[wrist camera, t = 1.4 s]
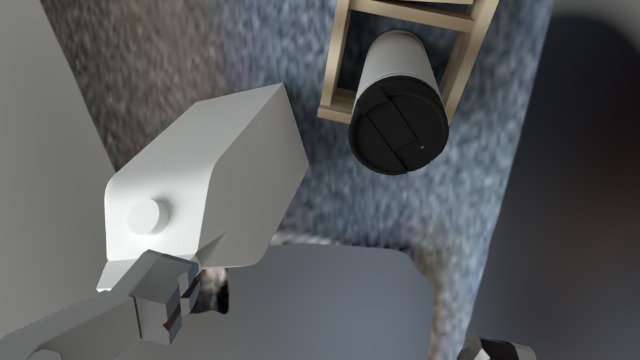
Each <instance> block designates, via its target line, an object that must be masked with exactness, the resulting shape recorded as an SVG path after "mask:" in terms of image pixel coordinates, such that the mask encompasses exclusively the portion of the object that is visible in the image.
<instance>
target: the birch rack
mask: <svg viewBox="0 0 640 360" xmlns="http://www.w3.org/2000/svg"><path fill="white" fill-rule="evenodd" d="M498 2H499V0H473V4H468V7H467V9H466V12H465V13H463V12H458V11H453V10H448V9H442V8H437V7H432V6H427V5H422V4H417V3H412V2H407V1H402V0H337V6H336V12H335V18H334V24H333V30H332V36H331V42H330V48H329V54H328V60H327V66H326V72H325V78H324V84H323V90H322V96H321V102H320V105H319V107H318V113H317V117H320V118H324V119H329V120H334V121H338V122H343V123H347V124H350V122H351V118H352V111H353V107H354V103H355V99H356V95H357V92H356V91H351V90H347V89H342V88H337V86H338V81H339V76H340V71H341V65H342V60H343V55H344V50H345V44H346V39H347V34H348V29H349V23H350V18H351V13H352V10H357V11H362V12H367V13H372V14H377V15H382V16H387V17H392V18H397V19H402V20H407V21H412V22H417V23H422V24H427V25H432V26H437V27H442V28H447V29H452V30H457V31H459V32H458V35H457V37H456V40H455V43H454V46H453V49H452V52H451V54H450V57H449V60H448V63H447V66H446V68H445V71H444V74H443V77H442V80H441V83H440V85H439V88H438V89H439V92H440V95H441V98H442V101H443V105H444V110H445V113H446V116H447V119H448V125H450V123H451V120H452V118H453V115H454V113H455V110H456V108H457V105H458V103H459V100H460V98H461V95H462V93H463V90H464V88H465V85H466V83H467V80H468V78H469V75H470V72H471V70H472V67H473V65H474V62H475V60H476V57H477V55H478V52H479V50H480V47H481V45H482V42H483V40H484V37H485V35H486V32H487V30H488V27H489V25H490V22H491V20H492V17H493V15H494V12H495V10H496V7H497V5H498Z"/></svg>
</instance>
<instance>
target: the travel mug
mask: <svg viewBox="0 0 640 360" xmlns="http://www.w3.org/2000/svg"><path fill="white" fill-rule="evenodd" d="M448 136H449V125H448V119H447V116H446V113H445V110H444V105H443V101H442V98H441V95H440V92H439V89H438V86H437V83H436V80H435V77H434V74H433V71H432V68H431V65H430V62H429V59H428V56H427V53H426V50H425V47H424V45H423V43H422V41H421V40H420V39H419V37H418V36H416V35H415V34H414V33H412V32H410V31H408V30H405V29H391V30H388V31H385V32H384V33H382V34H380V35H379V36H378V37H377V38H376V39H375V40H374V41H373V42H372V43H371V45H370V47H369V49H368V53H367V56H366V60H365V64H364V68H363V72H362V76H361V80H360V84H359V88H358V91H357V95H356V99H355V103H354V107H353V111H352V118H351V122H350V127H349V135H348V137H349V145H350V147H351V150H352V152H353V154H354V155H355V157H356V158H357V159H358V160H359V161H360V162H361V163H362V164H363V165H364V166H366V167H367V168H369V169H370V170H373V171H375V172H377V173H381V174H385V175H400V174H406V173H407V172H409V171H415V170H417V169H420V168H422V167H424V166H425V165H427V164H429V163H430V161H431V160H432V161H433V160H434V159H435V158H436V157H437V156H438V155H439V154H440V153H441V152H442V151H443V149H444V147H445V145H446V143H447V139H448Z"/></svg>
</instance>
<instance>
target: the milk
mask: <svg viewBox="0 0 640 360" xmlns="http://www.w3.org/2000/svg"><path fill="white" fill-rule="evenodd" d="M309 166H310V165H309V162H308V159H307V156H306V153H305V149H304V146H303V143H302V140H301V137H300V134H299V130H298V127H297V124H296V121H295V118H294V115H293V112H292V108H291V105H290V102H289V99H288V96H287V93H286V89H285V86H284V83H279V84H274V85H270V86H266V87H261V88H257V89H252V90H248V91H243V92H239V93H234V94H230V95H226V96H221V97H217V98H212V99H208V100H203V101H199V102H196V103H195V104H194V105H193V106H191V107H190V108H189V109H188V110H187V111H186V112H185V113H184V114H182V115H181V116H180V117H179V118H178V119H177V120H176V121H175V122H173V123H172V124H171V125H170V126H169V127H168V128H167V129H166V130H164V131H163V132H162V133H161V134H160V135H159V136H158V137H157V138H155V139H154V140H153V141H152V142H151V143H150V144H149V145H148V146H147V147H145V148H144V149H143V150H142V151H141V152H140V153H139V154H138V155H136V156H135V157H134V158H133V159H132V160H131V161H130V162H129V163H127V164H126V165H125V166H124V167H123V168H122V169H121V170H120V171H118V172H117V173H116V174H115V175H114V176H113V177H112V178H111V180H110V181H109V183H108V185H107V187H106V192H105V222H106V223H105V224H106V244H107V259H108V260H109V261H108V262H107V263H106V266H105V268H104V271H103V273H102V276H101V278H100V281H99V283H98V286H97V288H96V289H97V291H98V292H101V291H103V290H108V291H110V290H111V289H112V288H113V287H114V285H115V284H116V283H117V282H118V281H119V280H120V278H121V277H122V276H123V275H124V274H125V273H126V272H127V270H128V269H129V268H130V267H131V266H132V265H133V264H134V262H135V261H136V260H137V259H138V258H139V257H140V255H141V254H142V253H143V252H145V251H146V250H148V249H151V250H154V251H158V252H162V253H166V254H169V255H172V256H176V257H179V258H183V259H186V260H190V261H193V262H197V263H198V264H199V272H200V271H201V270H202V269H213V268H227V267H241V266H249V265H252V264H255V263H257V262H258V261H259V260H260V259H261V258H262V256H263V255H264V253H265V251H266V249H267V247H268V245H269V243H270V241H271V239H272V237H273V235H274V234H275V232H276V230H277V228H278V226H279V224H280V222H281V220H282V218H283V216H284V214H285V212H286V211H287V209H288V207H289V205H290V203H291V201H292V199H293V197H294V195H295V193H296V191H297V189H298V188H299V186H300V184H301V182H302V180H303V178H304V176H305V174H306V172H307V170H308V168H309ZM199 272H198V273H199ZM198 273H197V274H198Z"/></svg>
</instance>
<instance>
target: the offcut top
mask: <svg viewBox="0 0 640 360" xmlns="http://www.w3.org/2000/svg"><path fill="white" fill-rule="evenodd" d="M411 1H427V2H443V3H458V4H473V0H411Z"/></svg>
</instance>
